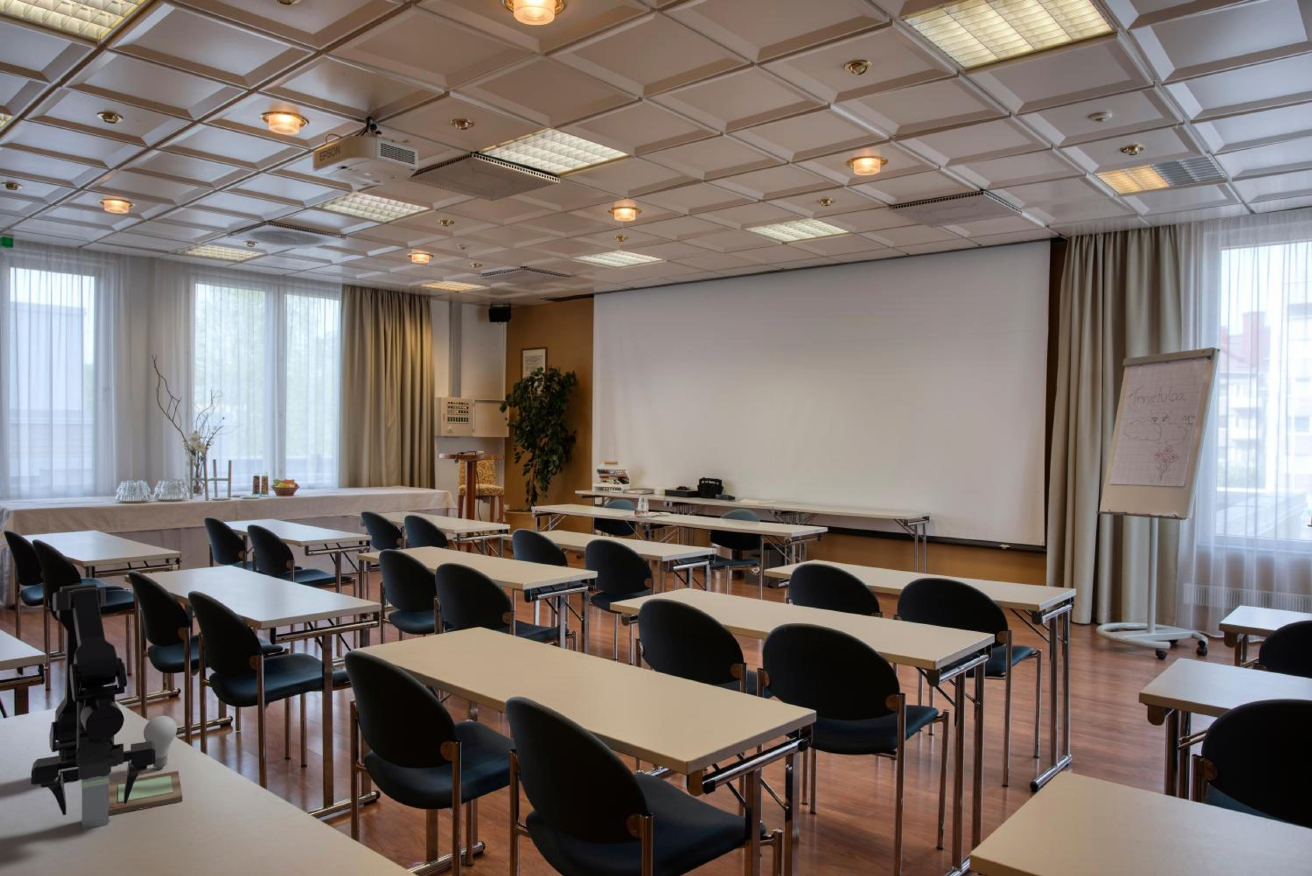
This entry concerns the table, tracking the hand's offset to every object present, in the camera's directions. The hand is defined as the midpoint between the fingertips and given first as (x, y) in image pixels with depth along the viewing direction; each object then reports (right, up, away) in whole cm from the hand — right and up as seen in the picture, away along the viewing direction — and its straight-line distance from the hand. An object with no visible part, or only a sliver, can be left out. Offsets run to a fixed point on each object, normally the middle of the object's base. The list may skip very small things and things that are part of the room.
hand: (95, 808), depth 156 cm
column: (0, -3, 0) cm, 3 cm away
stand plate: (+2, -2, +12) cm, 12 cm away
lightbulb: (-2, -2, +24) cm, 25 cm away
